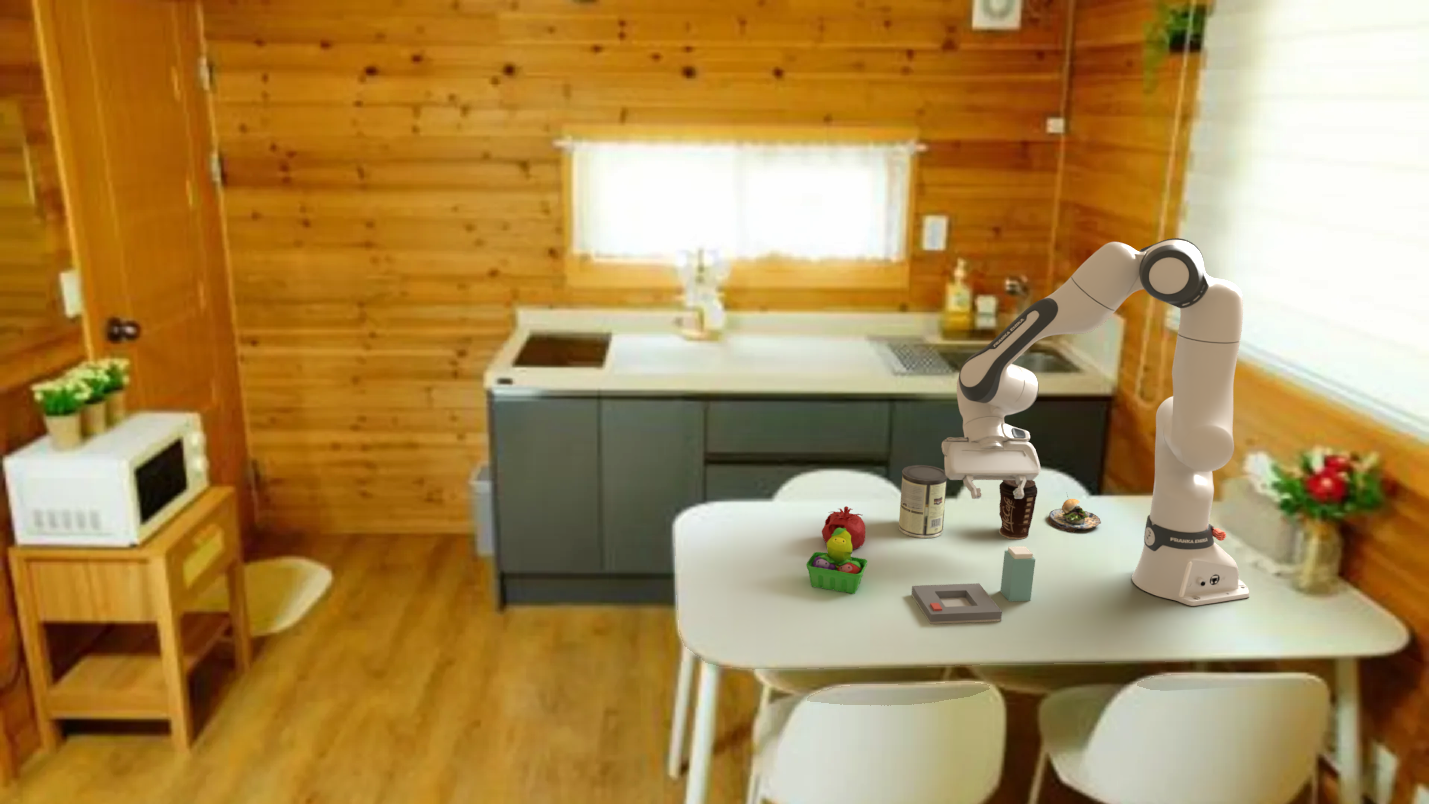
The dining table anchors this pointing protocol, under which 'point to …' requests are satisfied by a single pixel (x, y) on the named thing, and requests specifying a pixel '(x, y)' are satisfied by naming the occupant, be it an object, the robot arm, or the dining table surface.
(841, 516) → the pomegranate
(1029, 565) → the plug
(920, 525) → the coffee can
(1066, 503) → the burger
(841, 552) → the fruit basket
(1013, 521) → the coffee cup
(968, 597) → the socket plate
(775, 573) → the dining table surface
